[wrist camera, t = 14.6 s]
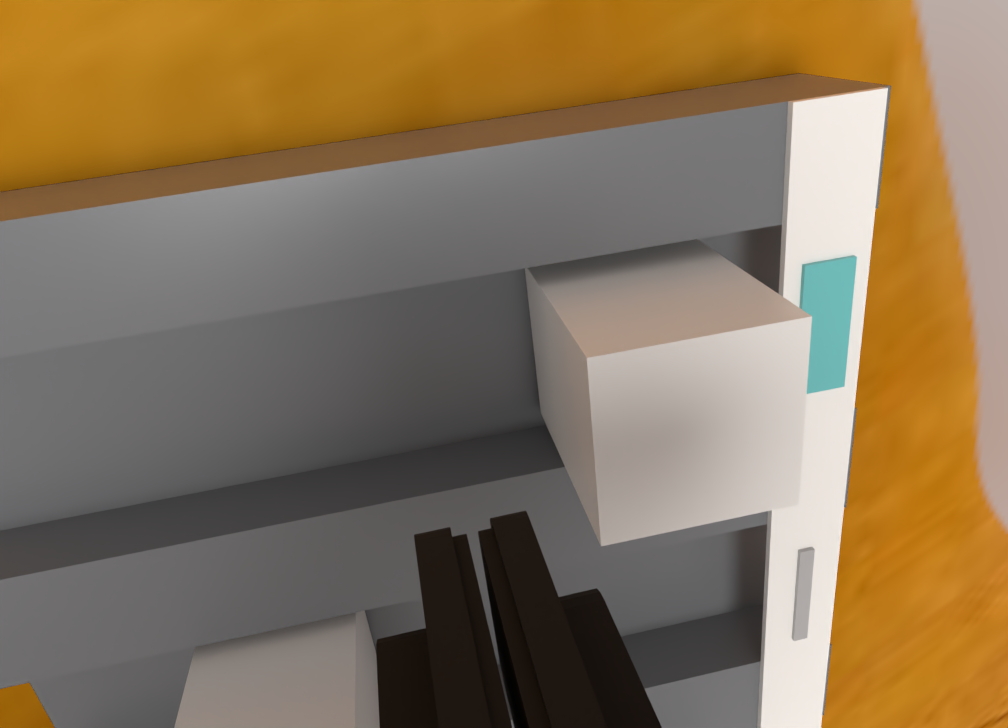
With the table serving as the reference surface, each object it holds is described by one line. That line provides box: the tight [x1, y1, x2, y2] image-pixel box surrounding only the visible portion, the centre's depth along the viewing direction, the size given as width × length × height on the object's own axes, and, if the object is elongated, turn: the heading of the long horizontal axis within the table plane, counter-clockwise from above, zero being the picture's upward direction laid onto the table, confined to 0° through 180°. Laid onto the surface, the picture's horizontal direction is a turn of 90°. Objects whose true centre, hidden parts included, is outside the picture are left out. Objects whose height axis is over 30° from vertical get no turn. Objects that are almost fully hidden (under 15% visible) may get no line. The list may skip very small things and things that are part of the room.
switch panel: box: [0, 73, 891, 728], centre depth 21 cm, size 26×22×4 cm
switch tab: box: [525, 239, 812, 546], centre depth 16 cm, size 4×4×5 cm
